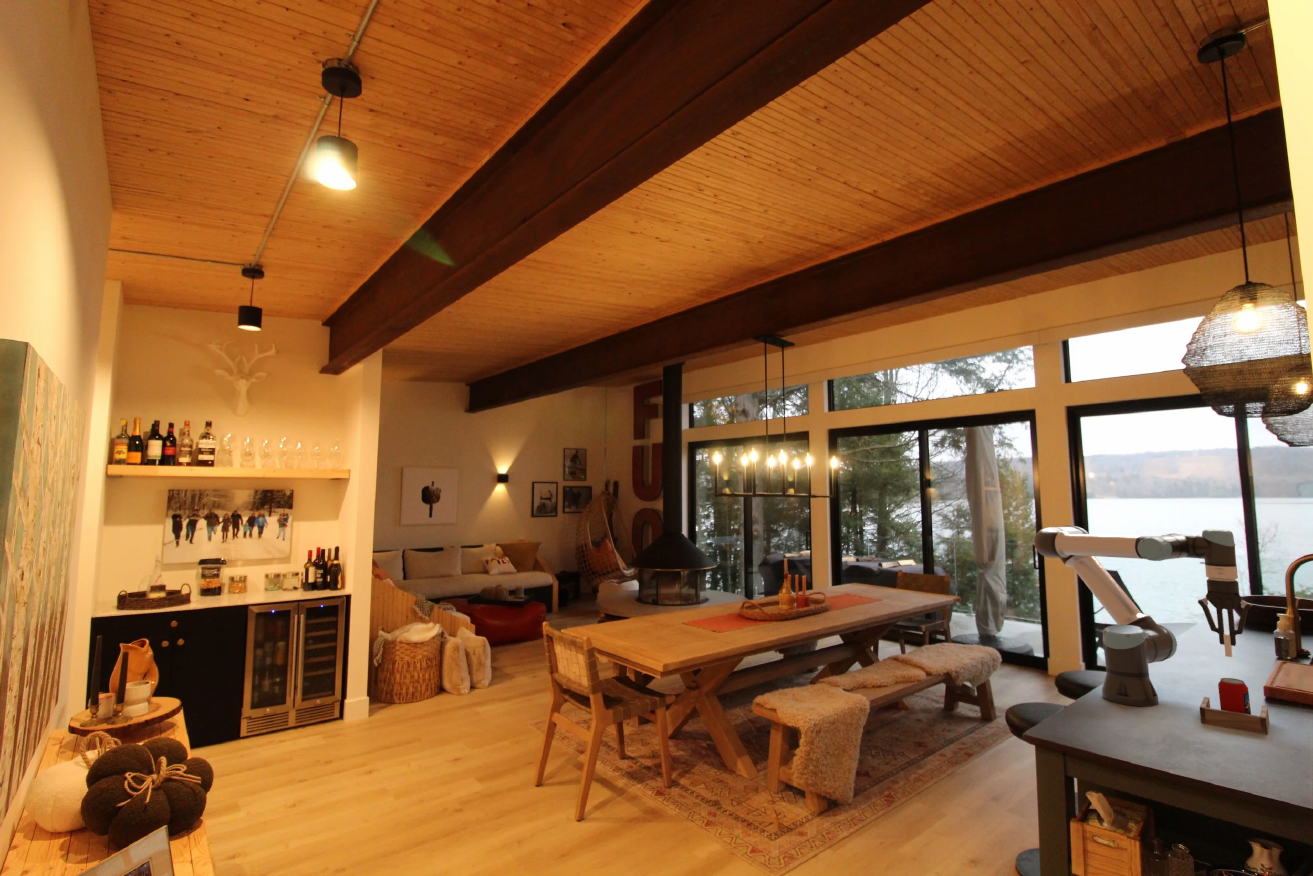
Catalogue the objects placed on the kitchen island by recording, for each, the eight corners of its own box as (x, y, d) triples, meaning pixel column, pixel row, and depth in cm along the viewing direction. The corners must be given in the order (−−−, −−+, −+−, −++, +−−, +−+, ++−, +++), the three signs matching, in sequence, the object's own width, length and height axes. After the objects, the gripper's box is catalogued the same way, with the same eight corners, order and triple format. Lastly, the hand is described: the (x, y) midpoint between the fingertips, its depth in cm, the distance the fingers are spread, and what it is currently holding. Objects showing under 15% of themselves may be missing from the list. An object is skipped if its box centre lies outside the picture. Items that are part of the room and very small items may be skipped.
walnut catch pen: (1267, 734, 181) (1265, 718, 181) (1201, 723, 191) (1199, 707, 191) (1269, 722, 190) (1267, 706, 190) (1205, 711, 200) (1204, 696, 200)
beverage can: (1258, 726, 187) (1253, 684, 188) (1230, 725, 188) (1226, 683, 189) (1242, 718, 193) (1238, 677, 195) (1216, 717, 195) (1212, 677, 196)
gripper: (1193, 578, 204) (1200, 654, 202) (1249, 582, 194) (1256, 662, 193) (1196, 576, 209) (1202, 650, 207) (1250, 579, 200) (1258, 656, 198)
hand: (1228, 655), depth 200 cm, fingers closed
